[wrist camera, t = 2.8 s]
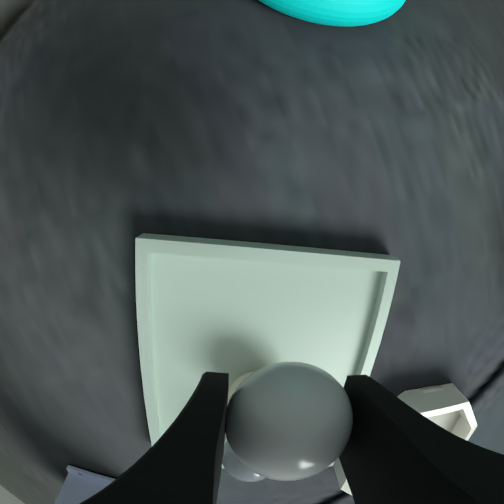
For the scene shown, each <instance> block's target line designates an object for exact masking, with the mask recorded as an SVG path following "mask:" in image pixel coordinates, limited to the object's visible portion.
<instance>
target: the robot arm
mask: <svg viewBox="0 0 504 504" xmlns="http://www.w3.org/2000/svg"><path fill="white" fill-rule="evenodd" d="M228 389H229V373H218V372H205V373H204V374H202V377H201V379H200V381H199V383H198V385H197V387H196V389H195V391H194V392H193V394H192V396H191V397H190V399H189V401H188V402H187V404H186V405H185V406H184V408H183V409H182V411H181V412H180V413H179V415H178V416H177V418H176V419H175V420H174V422H173V423H172V424H171V425H170V426H169V428H168V429H167V430H166V431H165V432H164V434H163V435H162V436H161V437H160V438H159V440H158V441H157V442H156V443H155V444H154V445H153V446H152V447H151V448H150V449H149V450H148V451H147V452H146V453H145V454H144V455H143V456H142V457H141V458H140V459H139V460H138V461H137V462H136V463H135V464H134V465H133V466H131V467H130V468H129V469H128V470H127V471H125V472H124V473H123V474H122V475H120V476H119V477H118V478H117V479H114V478H110V477H106V476H103V475H99V474H96V473H92V472H89V471H86V470H83V469H80V468H77V467H74V466H71V465H68V466H67V468H66V469H67V471H68V475H67V477H66V479H65V482H64V484H63V486H62V488H61V490H60V493H59V495H58V497H57V499H56V502H55V504H216V501H217V495H218V488H219V481H220V475H221V468H222V462H223V455H224V443H225V425H226V416H227V402H228ZM344 390H345V391H346V393H347V395H348V397H349V400H350V403H351V406H352V412H353V426H352V432H351V436H350V439H349V441H348V443H347V445H346V447H345V449H344V451H343V452H342V453H341V455H340V456H339V460H340V463H341V465H342V468H343V471H344V474H345V477H346V479H347V482H348V485H349V488H350V490H351V493H352V496H353V499H354V502H355V504H504V455H503V454H500V453H497V452H494V451H491V450H488V449H485V448H482V447H480V446H478V445H475V444H473V443H471V442H469V441H467V440H465V439H462V438H460V437H458V436H456V435H454V434H453V433H451V432H449V431H447V430H445V429H444V428H442V427H440V426H439V425H437V424H436V423H434V422H432V421H431V420H429V419H428V418H426V417H425V416H423V415H422V414H420V413H419V412H417V411H416V410H414V409H413V408H412V407H410V406H409V405H407V404H406V403H405V402H403V401H402V400H400V399H399V398H398V397H396V396H395V395H394V394H392V393H391V392H390V391H388V390H387V389H386V388H384V387H383V386H382V385H380V384H379V383H378V382H376V381H375V380H373V379H372V378H370V377H369V376H367V375H347V378H346V381H345V384H344Z"/></svg>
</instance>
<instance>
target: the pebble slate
mask: <svg viewBox="0 0 504 504" xmlns="http://www.w3.org/2000/svg"><path fill="white" fill-rule="evenodd" d="M222 464H223V467H224V468H225V470H226V471H227V472H228V474H230V475H231V476H232V477H234V478H235V479H237V480H240V481H244V482H257V481H260V480H263V479H265V478H266V477H263V476H260V475H258V474H256V473H255V472H253V471H251V470H250V469H248V468H247V467H246V466H244V465H243V464H242V463H241V462H240V461H239V460H238V458H237V457H236V456H235V454H234V453H233V452H232V450H231V448H230V445H229V443H228V441H226V442H225V444H224V455H223V462H222Z"/></svg>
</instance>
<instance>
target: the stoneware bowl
mask: <svg viewBox="0 0 504 504" xmlns="http://www.w3.org/2000/svg"><path fill="white" fill-rule="evenodd" d="M397 397H398V398H399V399H400V400H402V401H403V402H405V403H406V404H407V405H409V406H410V407H412V408H413V409H414V410H416V411H417V412H419V413H420V414H422V415H423V416H425V417H426V418H428V419H429V420H431V421H432V422H434V423H436V424H437V425H439V426H440V427H442V428H444V429H445V430H447V431H449V432H451V433H453V434H454V435H456V436H458V437H460V438H462V439H465V440H467V441H468V439H469V438H470V436H471V435H472V433H473V432H474V430H475V429H476V427H477V422H476V420H475V417H474V414H473V411H472V408H471V406H470V403H469V401H468V400H467V399H466V398H465V396H464V395H463V394H462V393H461V392H460V391H459V390H458V389H457V388H456V386H455V385H454V384H453V383H450V384H444V385H434V386H427V387H423V388H420V389H413V390H405V391H404V392H402V393H401V394H400V395H398V396H397ZM334 470H335V473H336V476H337V479H338V483H339V486H340V489H341V490H343V491H345V492H346V493H348V494H350V495H352V493H351V490H350V488H349V485H348V482H347V479H346V477H345V474H344V471H343V468H342V465H341V463H340V460H339V457H338V458H337V460H336V462H335V464H334Z"/></svg>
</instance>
